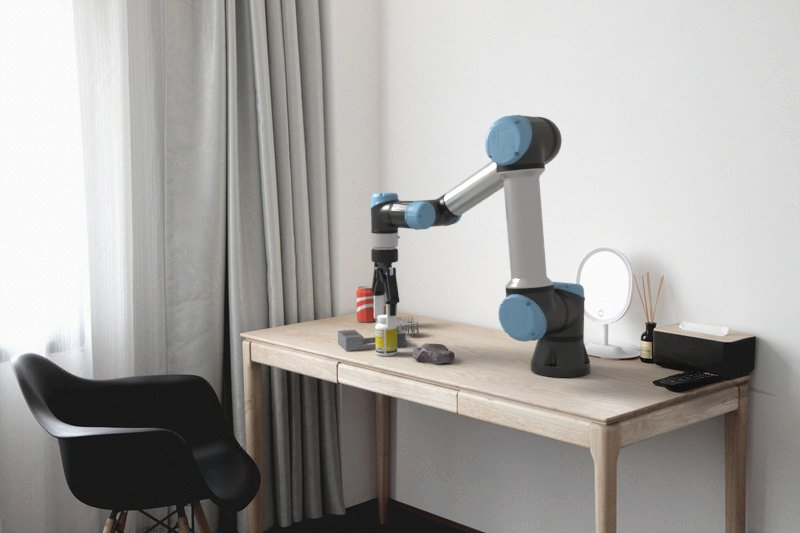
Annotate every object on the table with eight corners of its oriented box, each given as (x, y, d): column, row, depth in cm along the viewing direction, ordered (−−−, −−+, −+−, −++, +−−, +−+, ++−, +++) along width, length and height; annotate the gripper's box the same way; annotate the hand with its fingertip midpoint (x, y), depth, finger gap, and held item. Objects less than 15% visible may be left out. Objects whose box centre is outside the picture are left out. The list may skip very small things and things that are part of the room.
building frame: (408, 332, 267) (408, 314, 266) (421, 337, 260) (421, 318, 259) (391, 335, 264) (391, 316, 263) (404, 339, 257) (404, 320, 256)
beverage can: (367, 319, 291) (366, 285, 290) (378, 321, 286) (377, 287, 285) (353, 321, 287) (352, 287, 286) (364, 324, 282) (363, 289, 281)
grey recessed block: (405, 346, 246) (405, 333, 245) (346, 351, 241) (345, 337, 240) (395, 339, 256) (394, 326, 256) (338, 343, 251) (337, 330, 251)
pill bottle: (398, 351, 239) (397, 314, 238) (396, 356, 233) (395, 317, 232) (377, 351, 240) (376, 313, 238) (374, 356, 234) (373, 317, 232)
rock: (441, 367, 220) (441, 350, 220) (408, 361, 228) (408, 345, 227) (459, 362, 226) (459, 345, 226) (427, 356, 234) (427, 340, 233)
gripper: (410, 252, 222) (410, 330, 225) (385, 243, 246) (385, 313, 248) (383, 253, 220) (384, 331, 223) (360, 243, 243) (361, 315, 246)
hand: (385, 322), depth 235 cm, fingers open, 13 cm apart
